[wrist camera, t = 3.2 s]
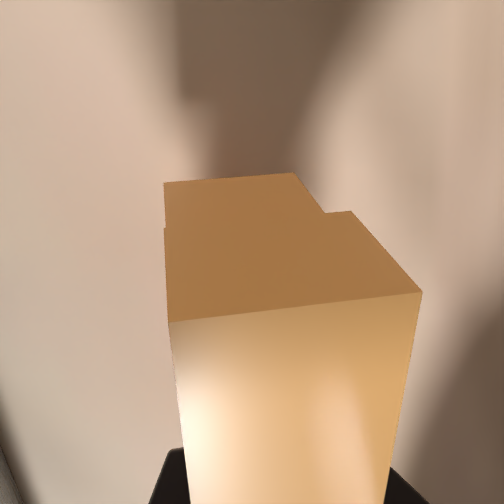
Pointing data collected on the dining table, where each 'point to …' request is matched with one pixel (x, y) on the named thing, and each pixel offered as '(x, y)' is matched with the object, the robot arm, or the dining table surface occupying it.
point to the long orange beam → (283, 343)
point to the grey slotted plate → (7, 484)
